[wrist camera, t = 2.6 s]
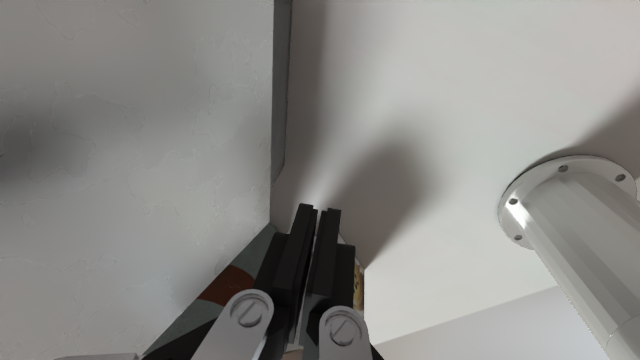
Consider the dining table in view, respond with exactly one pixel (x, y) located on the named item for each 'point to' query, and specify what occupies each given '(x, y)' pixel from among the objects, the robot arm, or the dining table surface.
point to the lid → (126, 164)
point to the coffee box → (295, 352)
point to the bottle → (220, 289)
